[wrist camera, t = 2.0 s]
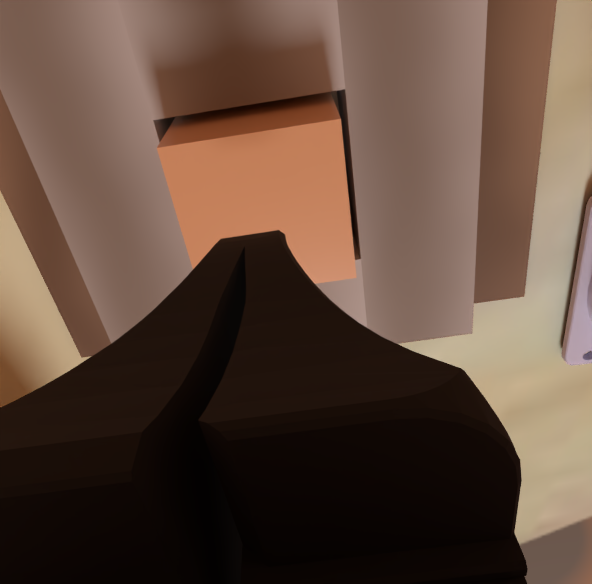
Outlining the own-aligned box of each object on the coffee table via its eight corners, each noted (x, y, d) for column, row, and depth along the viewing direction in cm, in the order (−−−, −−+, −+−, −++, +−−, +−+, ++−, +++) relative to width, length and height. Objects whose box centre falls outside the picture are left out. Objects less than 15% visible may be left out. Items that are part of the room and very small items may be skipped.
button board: (565, -164, 13) (646, -197, 10) (519, 289, 21) (558, 344, 18) (-101, -42, 14) (-198, -40, 11) (85, 349, 22) (55, 410, 19)
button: (329, 89, 15) (340, 118, 12) (344, 230, 17) (356, 277, 15) (176, 114, 15) (156, 148, 12) (212, 249, 17) (201, 299, 15)
